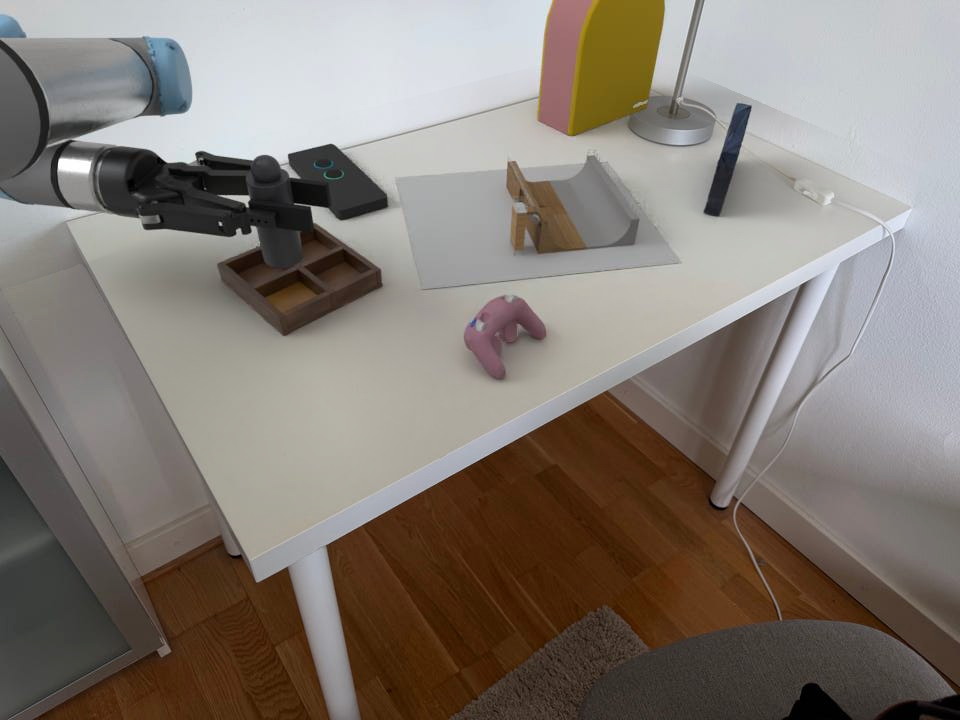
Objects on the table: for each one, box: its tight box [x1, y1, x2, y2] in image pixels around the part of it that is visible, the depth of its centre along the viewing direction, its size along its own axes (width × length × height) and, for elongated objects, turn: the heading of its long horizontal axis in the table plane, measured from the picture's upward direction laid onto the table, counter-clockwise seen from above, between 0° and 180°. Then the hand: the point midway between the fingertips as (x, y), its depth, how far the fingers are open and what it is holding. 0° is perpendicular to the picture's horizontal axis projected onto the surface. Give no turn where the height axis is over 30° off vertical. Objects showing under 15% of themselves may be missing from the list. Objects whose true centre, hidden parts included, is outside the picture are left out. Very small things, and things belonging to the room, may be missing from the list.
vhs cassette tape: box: [703, 102, 753, 217], centre depth 104 cm, size 18×3×10 cm, turn 157°
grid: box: [216, 222, 383, 337], centre depth 86 cm, size 14×14×3 cm
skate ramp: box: [394, 149, 682, 290], centre depth 97 cm, size 29×35×8 cm
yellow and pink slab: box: [536, 0, 666, 137], centre depth 118 cm, size 21×9×26 cm, turn 130°
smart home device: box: [287, 143, 389, 221], centre depth 105 cm, size 8×2×20 cm
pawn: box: [246, 154, 303, 268], centre depth 74 cm, size 4×4×12 cm
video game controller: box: [463, 294, 547, 380], centre depth 77 cm, size 10×5×7 cm, turn 144°
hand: (319, 207), depth 73 cm, fingers closed on pawn, 4 cm apart
